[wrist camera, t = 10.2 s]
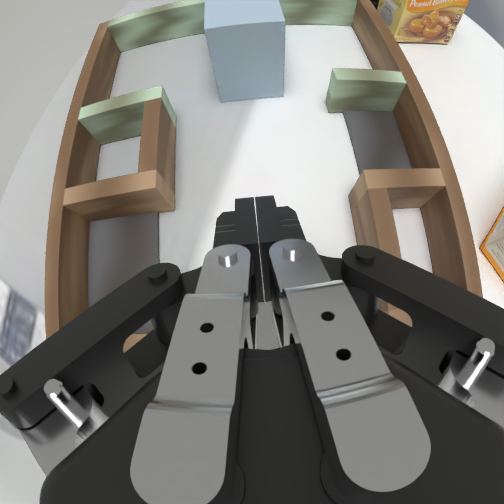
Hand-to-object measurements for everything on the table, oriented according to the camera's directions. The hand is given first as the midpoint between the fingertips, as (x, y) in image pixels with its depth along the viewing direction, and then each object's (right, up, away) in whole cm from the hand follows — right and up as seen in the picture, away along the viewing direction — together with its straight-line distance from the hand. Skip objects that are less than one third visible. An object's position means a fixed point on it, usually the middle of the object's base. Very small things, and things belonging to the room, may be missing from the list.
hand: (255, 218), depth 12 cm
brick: (-1, +16, +12) cm, 20 cm away
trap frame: (-1, +7, +10) cm, 12 cm away
